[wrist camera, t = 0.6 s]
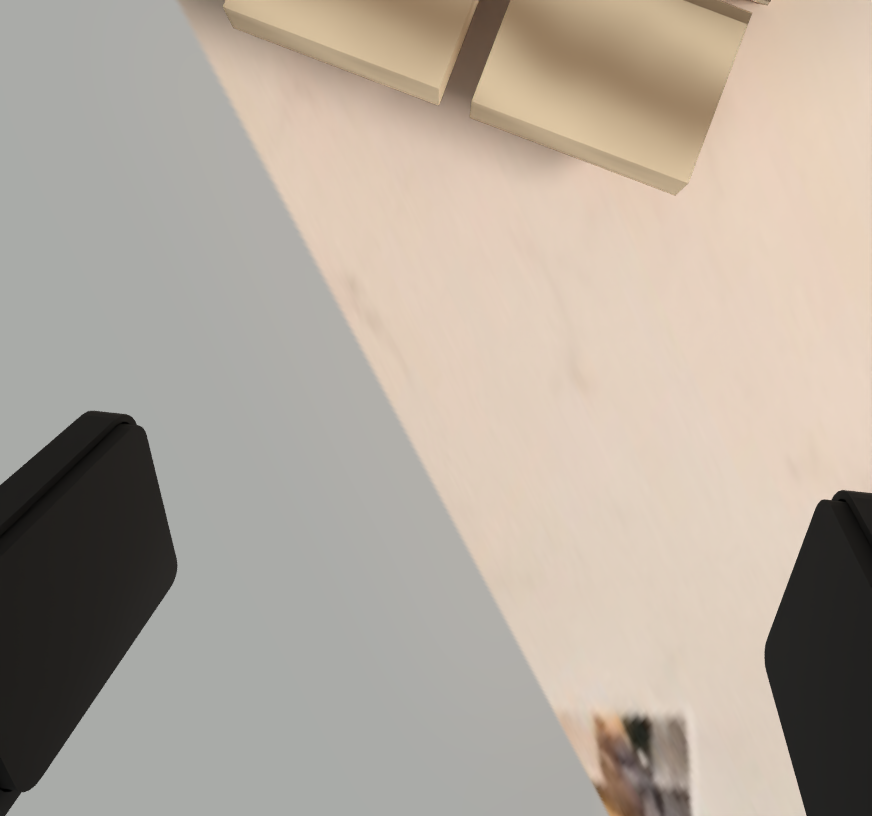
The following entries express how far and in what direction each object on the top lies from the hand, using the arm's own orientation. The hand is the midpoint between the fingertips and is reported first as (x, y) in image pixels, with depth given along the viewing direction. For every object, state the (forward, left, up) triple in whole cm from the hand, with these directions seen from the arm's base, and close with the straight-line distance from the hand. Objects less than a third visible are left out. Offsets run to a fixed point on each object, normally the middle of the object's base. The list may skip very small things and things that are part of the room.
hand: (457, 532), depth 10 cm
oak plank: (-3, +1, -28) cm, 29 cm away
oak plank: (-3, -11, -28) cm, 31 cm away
